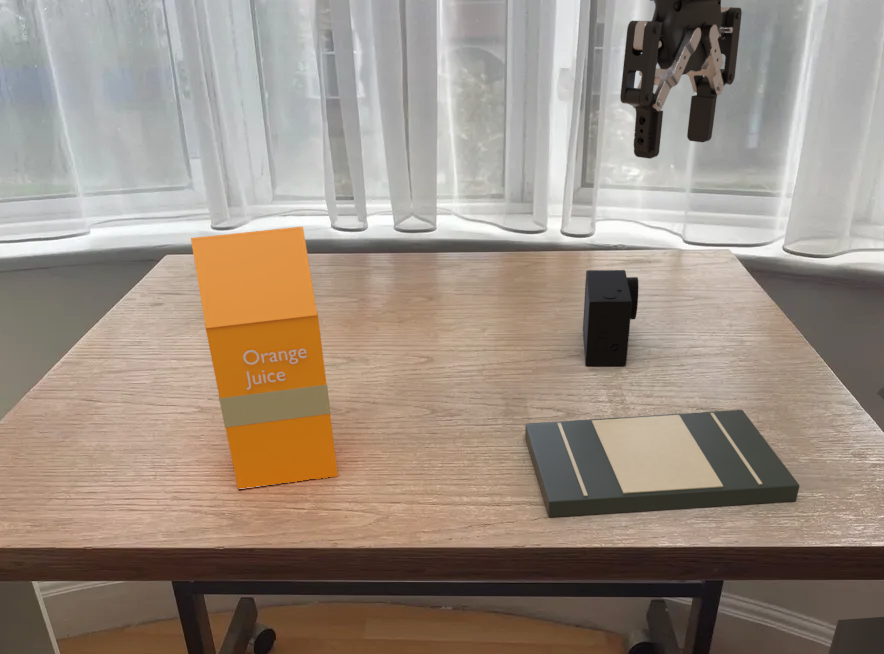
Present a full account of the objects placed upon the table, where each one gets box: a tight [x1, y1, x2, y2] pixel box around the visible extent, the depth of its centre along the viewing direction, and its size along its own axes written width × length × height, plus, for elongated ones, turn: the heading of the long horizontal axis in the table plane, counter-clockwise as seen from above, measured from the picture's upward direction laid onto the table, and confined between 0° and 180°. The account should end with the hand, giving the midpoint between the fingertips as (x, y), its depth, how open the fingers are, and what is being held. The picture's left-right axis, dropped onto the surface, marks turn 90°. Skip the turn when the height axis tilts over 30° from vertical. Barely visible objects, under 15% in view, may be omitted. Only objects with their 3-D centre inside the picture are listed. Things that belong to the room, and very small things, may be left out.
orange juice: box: [190, 226, 339, 489], centre depth 75 cm, size 8×9×20 cm
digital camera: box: [582, 269, 639, 367], centre depth 97 cm, size 10×5×7 cm, turn 174°
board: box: [524, 409, 800, 518], centre depth 77 cm, size 20×14×2 cm
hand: (673, 148), depth 82 cm, fingers open, 8 cm apart
